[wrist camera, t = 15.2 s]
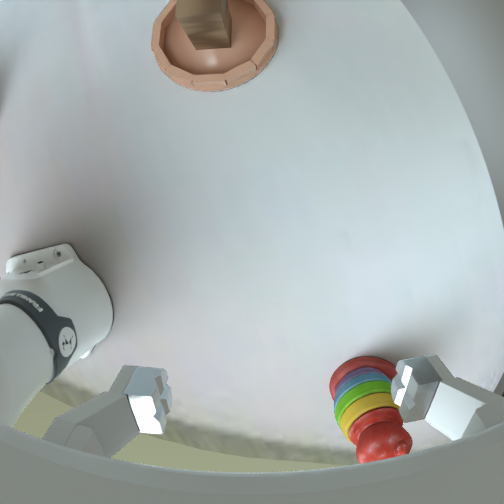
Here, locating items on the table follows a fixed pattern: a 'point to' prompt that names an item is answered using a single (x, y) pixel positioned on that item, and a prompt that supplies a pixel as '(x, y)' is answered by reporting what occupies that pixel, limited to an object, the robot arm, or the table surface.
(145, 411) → the robot arm
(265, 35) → the dish
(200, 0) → the walnut block
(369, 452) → the stacking bear
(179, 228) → the table surface
